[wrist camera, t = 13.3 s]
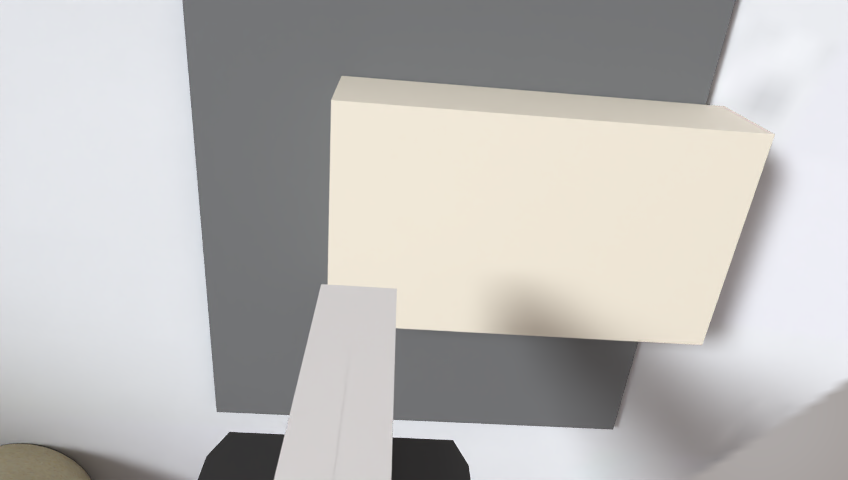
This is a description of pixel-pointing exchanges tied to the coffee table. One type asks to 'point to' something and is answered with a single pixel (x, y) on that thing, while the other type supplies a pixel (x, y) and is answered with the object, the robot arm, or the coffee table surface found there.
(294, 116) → the mat
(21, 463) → the flower pot
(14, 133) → the coffee table surface
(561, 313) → the slab
